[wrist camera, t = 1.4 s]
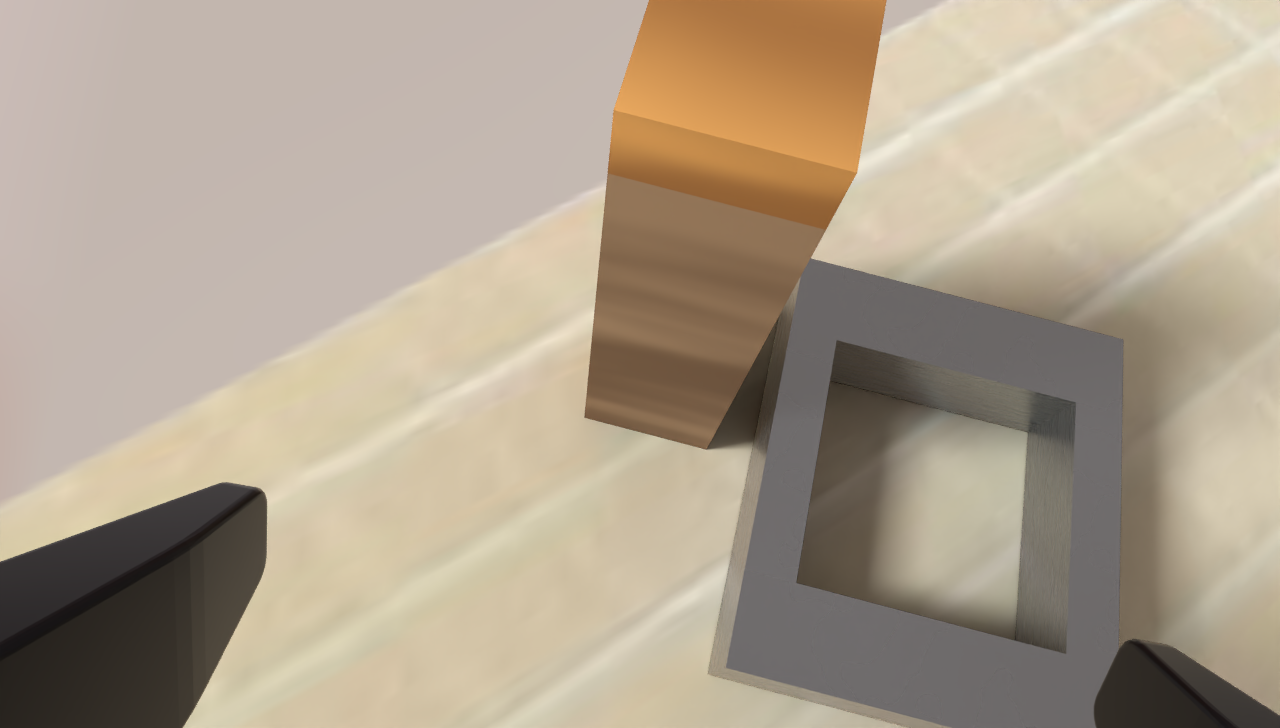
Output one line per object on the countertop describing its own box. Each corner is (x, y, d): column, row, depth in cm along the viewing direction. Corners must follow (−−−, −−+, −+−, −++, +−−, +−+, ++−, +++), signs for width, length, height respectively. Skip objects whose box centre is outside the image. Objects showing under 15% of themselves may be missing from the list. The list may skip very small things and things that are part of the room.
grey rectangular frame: (1056, 766, 21) (1116, 771, 19) (707, 674, 22) (725, 667, 19) (1072, 373, 26) (1123, 339, 24) (782, 298, 26) (804, 256, 24)
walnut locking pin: (706, 449, 24) (857, 172, 12) (584, 417, 24) (614, 110, 12) (730, 339, 25) (887, -8, 13) (615, 308, 25) (669, -63, 13)
